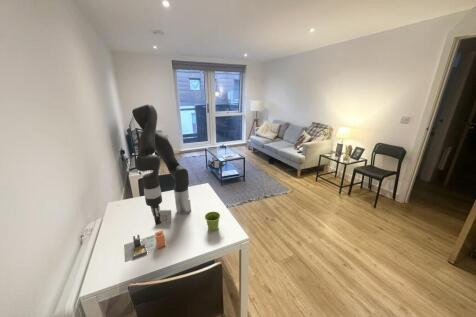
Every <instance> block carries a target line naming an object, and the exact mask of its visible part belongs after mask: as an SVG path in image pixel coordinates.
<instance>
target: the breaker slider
mask: <svg viewBox="0 0 476 317" xmlns="http://www.w3.org/2000/svg"><path fill="white" fill-rule="evenodd" d="M140 239H141V238H140V234H135V235H133V236H132V240H133V241H132V242H134V246H135V247H137V246H140V245H141V241H140Z"/></svg>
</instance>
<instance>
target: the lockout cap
mask: <svg viewBox="0 0 476 317" xmlns="http://www.w3.org/2000/svg"><path fill="white" fill-rule="evenodd" d="M154 235H155V237H156V242H157V247H158V248H159V247H162V246H165V245H166V244H167V243H166V244H165V241H166V239H165V234H164V230H159V231H156V232H155V233H154Z"/></svg>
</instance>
